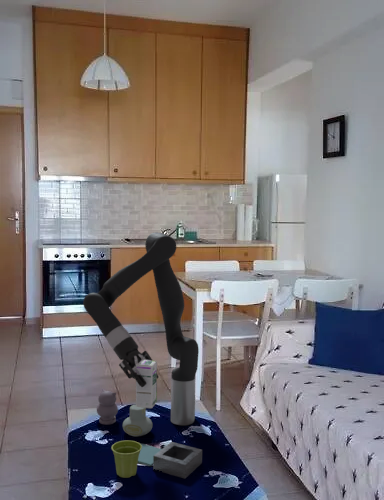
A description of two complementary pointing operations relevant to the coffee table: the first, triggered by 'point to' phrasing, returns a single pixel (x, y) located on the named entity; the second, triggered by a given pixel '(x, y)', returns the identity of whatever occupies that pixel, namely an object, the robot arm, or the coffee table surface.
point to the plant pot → (126, 457)
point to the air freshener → (137, 422)
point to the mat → (147, 454)
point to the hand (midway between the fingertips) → (150, 382)
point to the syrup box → (147, 384)
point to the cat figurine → (107, 407)
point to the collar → (177, 459)
